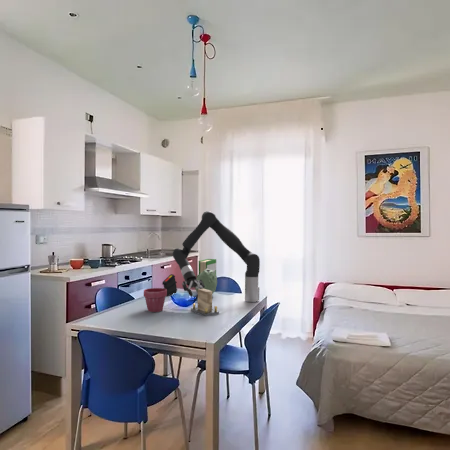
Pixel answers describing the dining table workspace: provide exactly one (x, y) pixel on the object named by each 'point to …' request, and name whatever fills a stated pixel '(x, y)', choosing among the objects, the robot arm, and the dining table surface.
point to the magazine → (170, 285)
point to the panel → (204, 299)
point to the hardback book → (207, 265)
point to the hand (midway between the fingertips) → (197, 294)
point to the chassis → (205, 313)
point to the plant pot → (155, 299)
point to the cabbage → (208, 280)
